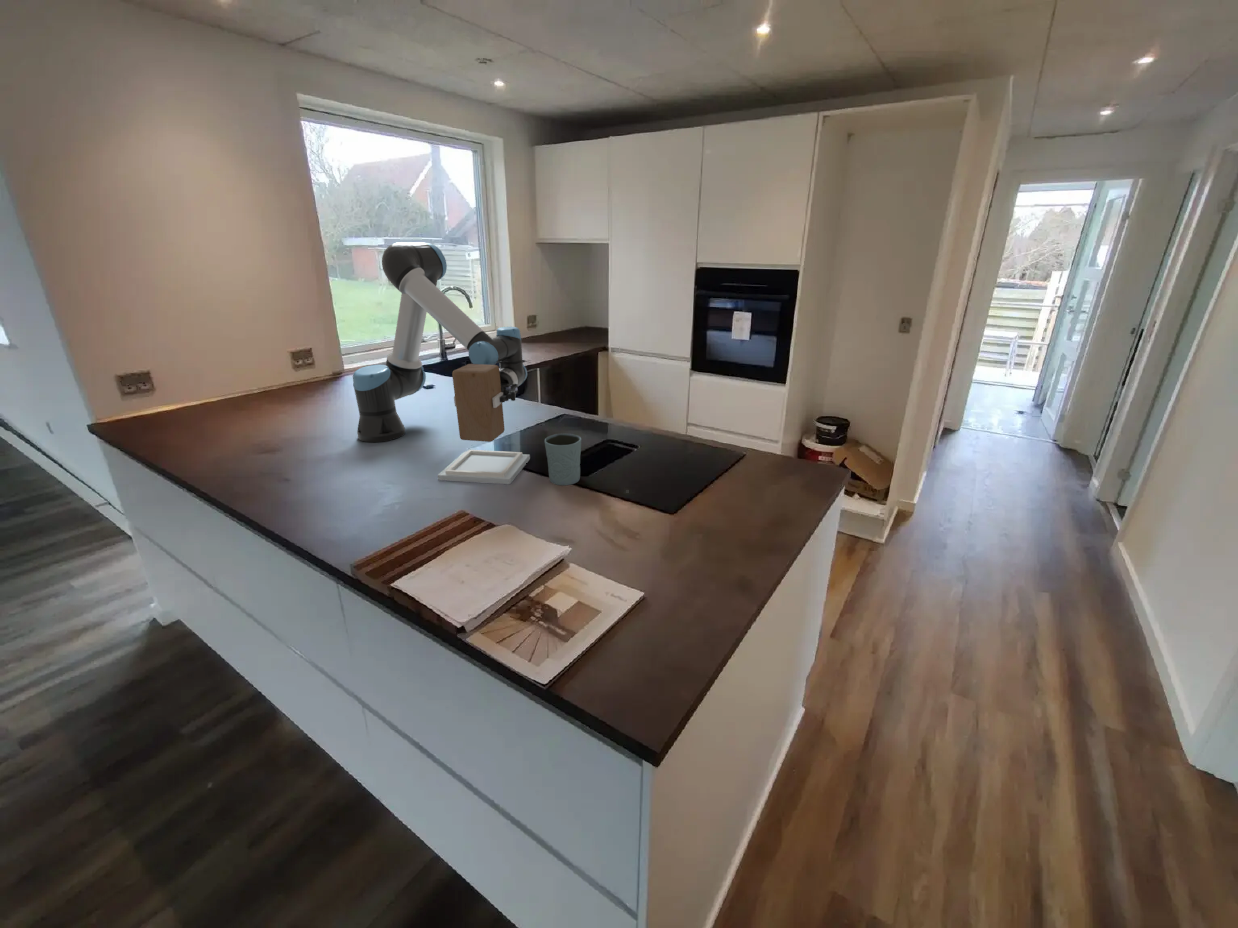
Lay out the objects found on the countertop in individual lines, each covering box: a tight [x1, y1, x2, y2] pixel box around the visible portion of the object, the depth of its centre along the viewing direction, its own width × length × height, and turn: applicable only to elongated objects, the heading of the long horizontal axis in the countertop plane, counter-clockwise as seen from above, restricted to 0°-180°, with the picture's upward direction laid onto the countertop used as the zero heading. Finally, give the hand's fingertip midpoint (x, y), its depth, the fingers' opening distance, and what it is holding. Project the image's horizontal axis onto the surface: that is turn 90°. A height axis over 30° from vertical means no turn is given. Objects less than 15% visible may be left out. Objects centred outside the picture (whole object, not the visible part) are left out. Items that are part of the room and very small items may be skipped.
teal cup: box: [544, 433, 582, 486], centre depth 151 cm, size 10×10×12 cm
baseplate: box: [437, 449, 531, 485], centre depth 159 cm, size 19×21×2 cm
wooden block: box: [451, 363, 505, 443], centre depth 152 cm, size 10×10×20 cm
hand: (474, 402), depth 149 cm, fingers closed on wooden block, 10 cm apart
